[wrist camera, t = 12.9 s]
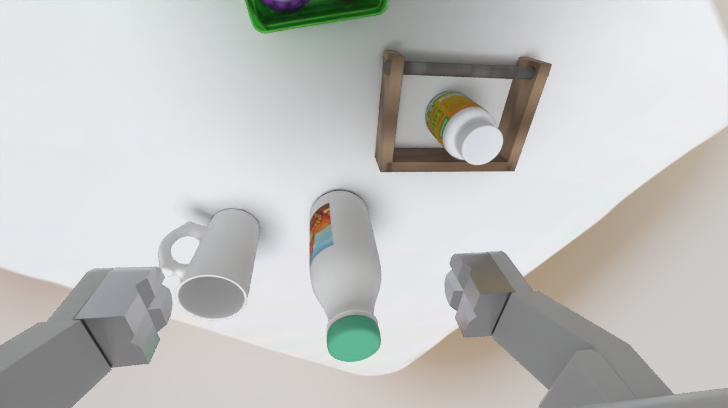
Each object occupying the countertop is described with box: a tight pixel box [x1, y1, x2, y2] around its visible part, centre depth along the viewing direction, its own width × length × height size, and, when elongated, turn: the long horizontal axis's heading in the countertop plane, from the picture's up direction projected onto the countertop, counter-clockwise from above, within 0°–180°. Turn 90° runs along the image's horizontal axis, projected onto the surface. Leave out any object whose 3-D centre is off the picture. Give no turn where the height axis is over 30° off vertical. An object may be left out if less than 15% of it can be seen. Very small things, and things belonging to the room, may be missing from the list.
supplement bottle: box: [425, 91, 503, 165], centre depth 34 cm, size 5×5×10 cm
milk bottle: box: [310, 191, 381, 362], centre depth 35 cm, size 8×8×20 cm
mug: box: [158, 209, 260, 320], centre depth 37 cm, size 10×7×12 cm, turn 52°
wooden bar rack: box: [375, 50, 552, 172], centre depth 36 cm, size 12×18×4 cm
